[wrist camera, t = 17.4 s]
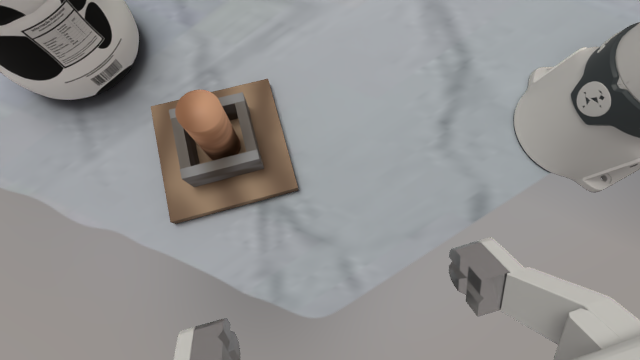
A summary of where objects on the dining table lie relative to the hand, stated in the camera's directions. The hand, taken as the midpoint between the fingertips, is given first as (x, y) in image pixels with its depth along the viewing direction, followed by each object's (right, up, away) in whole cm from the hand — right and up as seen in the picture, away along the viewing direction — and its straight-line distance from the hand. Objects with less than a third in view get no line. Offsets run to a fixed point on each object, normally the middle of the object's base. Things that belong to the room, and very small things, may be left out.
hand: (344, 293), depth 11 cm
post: (-13, +8, +31) cm, 35 cm away
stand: (-14, +8, +32) cm, 36 cm away
